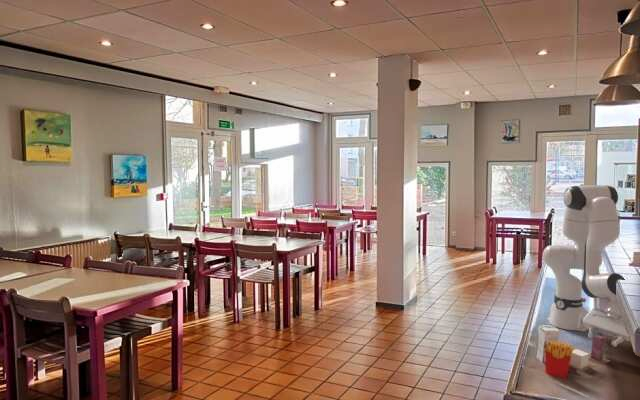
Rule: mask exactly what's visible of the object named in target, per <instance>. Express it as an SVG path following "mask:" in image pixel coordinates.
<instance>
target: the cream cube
mask: <svg viewBox="0 0 640 400" xmlns="http://www.w3.org/2000/svg"><path fill="white" fill-rule="evenodd" d="M589 354H590V353H587V352H585V351H583V350H580V349H577V348H575V349H573V352H572V355H571V359H570V365H572V366H575V367H577V368H580V369H581V368H584V367H587V366H588V360H589Z"/></svg>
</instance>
